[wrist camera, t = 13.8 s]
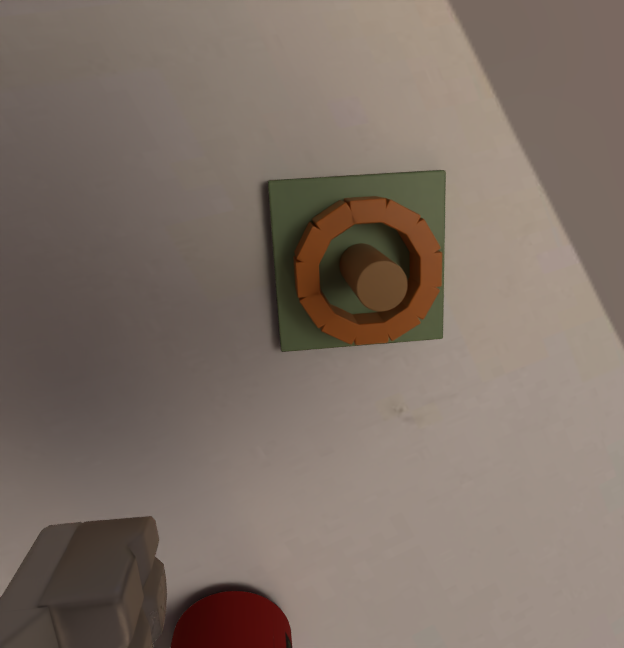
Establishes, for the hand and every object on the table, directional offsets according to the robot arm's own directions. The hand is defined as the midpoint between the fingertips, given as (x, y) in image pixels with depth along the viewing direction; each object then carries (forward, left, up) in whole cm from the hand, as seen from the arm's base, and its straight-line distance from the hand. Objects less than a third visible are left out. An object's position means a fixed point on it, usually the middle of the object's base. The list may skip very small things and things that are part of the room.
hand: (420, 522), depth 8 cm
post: (-1, +2, -18) cm, 18 cm away
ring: (-1, +2, -17) cm, 17 cm away
